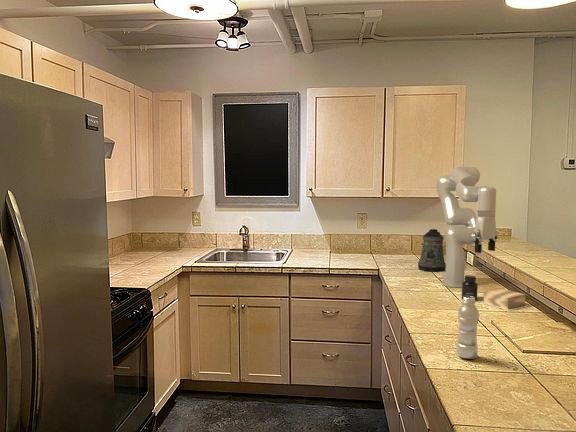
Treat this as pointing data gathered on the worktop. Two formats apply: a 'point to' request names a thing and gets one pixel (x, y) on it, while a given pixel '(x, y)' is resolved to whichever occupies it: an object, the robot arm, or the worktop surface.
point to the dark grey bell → (432, 252)
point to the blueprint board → (507, 309)
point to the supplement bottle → (470, 287)
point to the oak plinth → (504, 298)
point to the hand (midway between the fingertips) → (484, 251)
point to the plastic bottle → (468, 329)
